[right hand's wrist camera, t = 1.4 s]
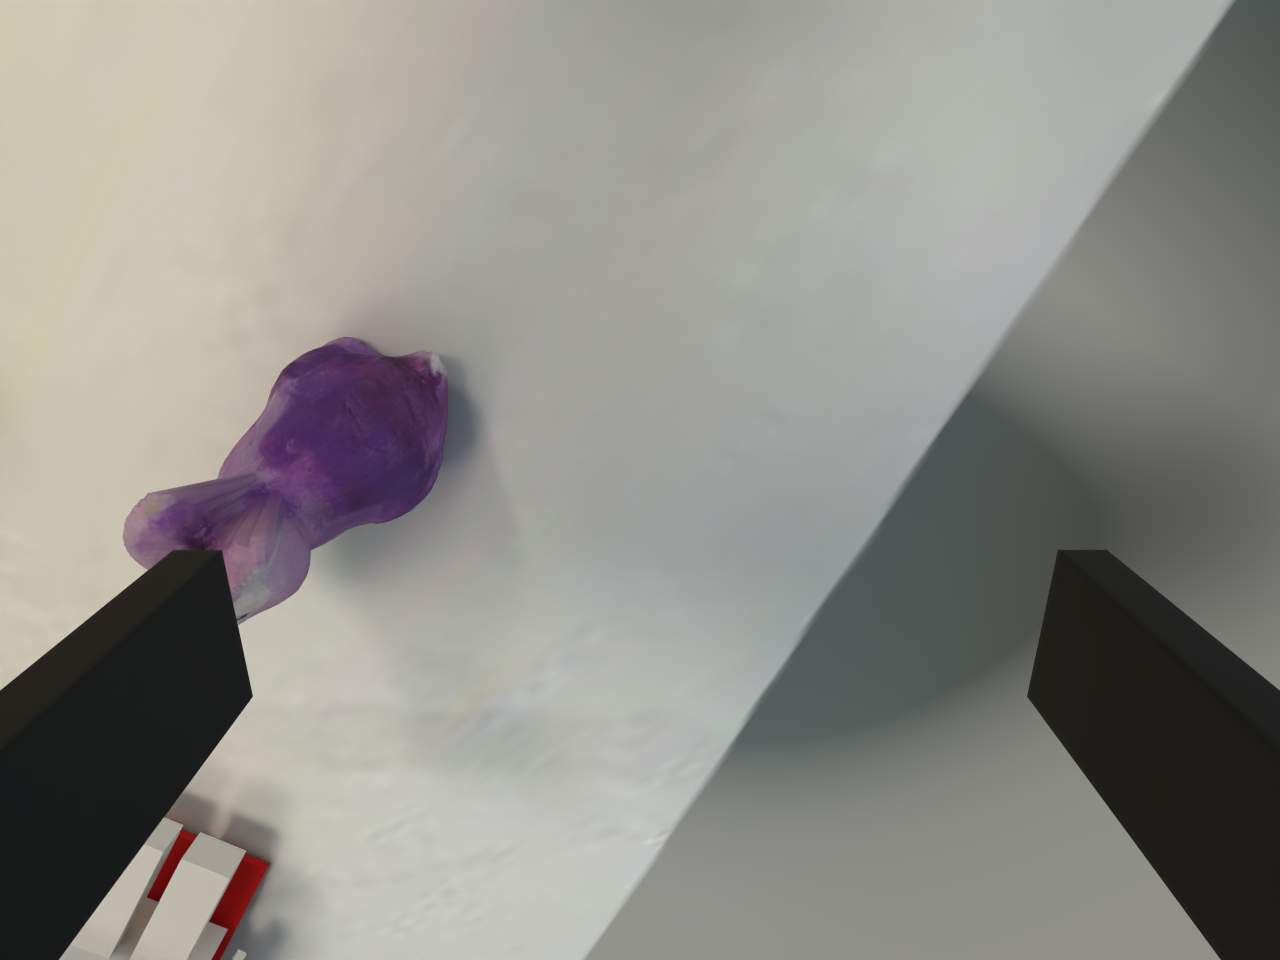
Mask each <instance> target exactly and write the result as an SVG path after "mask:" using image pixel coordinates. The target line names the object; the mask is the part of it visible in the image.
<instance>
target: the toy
mask: <svg viewBox="0 0 1280 960" xmlns="http://www.w3.org/2000/svg"><path fill="white" fill-rule="evenodd" d="M182 827H183V825H182V824H180V823H177V822H175V821H173V820H170V819H168V818H165V817H164V818H163V819H162V821H161V822H160V823H159V825H158V826H157V827H156V829H155V830H154V831H153V833H152V834H151V835H150V837H149V838H148V840H147V841H146V842H145V844H144V845H143V846H142V848H141V849H140V850H139V852H138V853H137V854H136V856H135V857H134V859H133V860H132V861H131V863H130V864H129V865H128V867H127V868H126V869H125V871H124V872H123V873H122V875H121V876H120V878H119V879H118V880H117V882H116V883H115V884H114V886H113V887H112V888H111V890H110V891H109V893H108V894H107V895H106V897H105V898H104V899H103V901H102V902H101V903H100V905H99V906H98V907H97V909H96V910H95V912H94V913H93V914H92V916H91V917H90V918H89V920H88V921H87V922H86V924H85V925H84V926H83V928H82V929H81V931H80V932H79V933H78V935H77V936H76V937H75V939H74V940H73V941H72V943H71V944H70V946H69V947H68V948H67V950H66V951H65V952H64V954H63V955H62V956H61V958H60V959H59V960H220V959H221V957H222V955H223V953H224V951H225V949H226V947H227V945H228V943H229V941H230V939H231V937H232V935H233V933H234V932H235V930H236V928H237V926H238V924H239V922H240V920H241V918H242V916H243V914H244V912H245V910H246V908H247V906H248V904H249V902H250V900H251V898H252V897H253V895H254V893H255V891H256V889H257V887H258V885H259V883H260V881H261V879H262V877H263V875H264V873H265V871H266V869H267V867H268V865H269V863H267V862H264V861H262V860H259V859H257V858H254V857H251V856H249V855H246V854H245V853H246V850H243V849H241V848H238V847H236V846H234V845H231V844H229V843H226V842H224V841H221V840H219V839H216V838H214V837H212V836H209V835H207V834H204V833H202V832H200V833H199V835H198V836H196V835H194V834H191V833H189V832H186V831H183V830H181V829H182ZM246 954H247V953H245V952H243V951H241V950H239V949H238V951H237V952H236V954H235V955H234V957H233V958H232V960H244V958H245V956H246Z"/></svg>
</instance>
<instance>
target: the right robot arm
mask: <svg viewBox="0 0 1280 960" xmlns="http://www.w3.org/2000/svg"><path fill="white" fill-rule="evenodd" d="M252 697H253V695H252V690H251V686H250V681H249V676H248V671H247V667H246V662H245V657H244V652H243V648H242V643H241V638H240V633H239V629H238V624H237V619H236V614H235V610H234V605H233V600H232V595H231V591H230V586H229V581H228V576H227V572H226V567H225V562H224V557H223V552H222V550H173V551H171V552H170V553H169V554H168V555H166V556H165V557H164V558H163V559H161V560H160V561H159V562H158V563H157V564H155V565H154V566H153V567H152V568H150V569H149V570H148V571H147V572H145V573H144V574H143V575H142V576H141V577H139V578H138V579H137V580H136V581H134V582H133V583H132V584H131V585H130V586H128V587H127V588H126V589H125V590H123V591H122V592H121V593H120V594H118V595H117V596H116V597H115V598H114V599H112V600H111V601H110V602H109V603H107V604H106V605H105V606H104V607H102V608H101V609H100V610H99V611H98V612H96V613H95V614H94V615H93V616H91V617H90V618H89V619H88V620H86V621H85V622H84V623H83V624H82V625H80V626H79V627H78V628H77V629H75V630H74V631H73V632H72V633H70V634H69V635H68V636H67V637H66V638H64V639H63V640H62V641H61V642H59V643H58V644H57V645H56V646H54V647H53V648H52V649H51V650H50V651H48V652H47V653H46V654H45V655H43V656H42V657H41V658H40V659H38V660H37V661H36V662H35V663H34V664H32V665H31V666H30V667H29V668H27V669H26V670H25V671H24V672H22V673H21V674H20V675H19V676H18V677H16V678H15V679H14V680H13V681H11V682H10V683H9V684H8V685H7V686H5V687H4V688H3V689H2V690H0V960H59V959H60V958H61V956H62V955H63V954H64V952H65V951H66V950H67V948H68V947H69V946H70V944H71V943H72V941H73V940H74V939H75V937H76V936H77V935H78V933H79V932H80V931H81V929H82V928H83V926H84V925H85V924H86V922H87V921H88V920H89V918H90V917H91V916H92V914H93V913H94V912H95V910H96V909H97V907H98V906H99V905H100V903H101V902H102V901H103V899H104V898H105V897H106V895H107V894H108V893H109V891H110V890H111V888H112V887H113V886H114V884H115V883H116V882H117V880H118V879H119V878H120V876H121V875H122V873H123V872H124V871H125V869H126V868H127V867H128V865H129V864H130V863H131V861H132V860H133V859H134V857H135V856H136V854H137V853H138V852H139V850H140V849H141V848H142V846H143V845H144V844H145V842H146V841H147V840H148V838H149V837H150V835H151V834H152V833H153V831H154V830H155V829H156V827H157V826H158V825H159V823H160V822H161V821H162V819H163V818H164V816H165V815H166V814H167V812H168V811H169V810H170V808H171V807H172V806H173V804H174V803H175V801H176V800H177V799H178V797H179V796H180V795H181V793H182V792H183V791H184V789H185V788H186V787H187V785H188V784H189V782H190V781H191V780H192V778H193V777H194V776H195V774H196V773H197V772H198V770H199V769H200V768H201V766H202V765H203V763H204V762H205V761H206V759H207V758H208V757H209V755H210V754H211V753H212V751H213V750H214V749H215V747H216V746H217V744H218V743H219V742H220V740H221V739H222V738H223V736H224V735H225V734H226V732H227V731H228V729H229V728H230V727H231V725H232V724H233V723H234V721H235V720H236V719H237V717H238V716H239V715H240V713H241V712H242V710H243V709H244V708H245V706H246V705H247V704H248V702H249V701H250V700H251V698H252ZM1027 697H1028V698H1029V700H1030V701H1031V702H1032V704H1033V705H1034V706H1035V708H1036V709H1037V710H1038V712H1039V713H1040V715H1041V716H1042V717H1043V719H1044V720H1045V721H1046V723H1047V724H1048V725H1049V727H1050V728H1051V729H1052V731H1053V732H1054V734H1055V735H1056V736H1057V738H1058V739H1059V740H1060V742H1061V743H1062V744H1063V746H1064V747H1065V748H1066V750H1067V751H1068V753H1069V754H1070V755H1071V757H1072V758H1073V759H1074V761H1075V762H1076V763H1077V765H1078V766H1079V768H1080V769H1081V770H1082V772H1083V773H1084V774H1085V776H1086V777H1087V778H1088V780H1089V781H1090V782H1091V784H1092V785H1093V786H1094V788H1095V789H1096V791H1097V792H1098V793H1099V795H1100V796H1101V797H1102V799H1103V800H1104V801H1105V803H1106V804H1107V806H1108V807H1109V808H1110V810H1111V811H1112V812H1113V814H1114V815H1115V816H1116V818H1117V819H1118V821H1119V822H1120V823H1121V825H1122V826H1123V827H1124V829H1125V830H1126V831H1127V833H1128V834H1129V835H1130V837H1131V838H1132V839H1133V841H1134V842H1135V844H1136V845H1137V846H1138V848H1139V849H1140V850H1141V852H1142V853H1143V854H1144V856H1145V857H1146V859H1147V860H1148V861H1149V863H1150V864H1151V865H1152V867H1153V868H1154V869H1155V871H1156V872H1157V874H1158V875H1159V876H1160V878H1161V879H1162V880H1163V882H1164V883H1165V884H1166V886H1167V887H1168V888H1169V890H1170V891H1171V893H1172V894H1173V895H1174V897H1175V898H1176V899H1177V901H1178V902H1179V903H1180V905H1181V906H1182V907H1183V909H1184V910H1185V912H1186V913H1187V914H1188V916H1189V917H1190V918H1191V920H1192V921H1193V922H1194V924H1195V925H1196V926H1197V928H1198V929H1199V930H1200V932H1201V933H1202V934H1203V936H1204V937H1205V939H1206V940H1207V941H1208V943H1209V944H1210V945H1211V947H1212V948H1213V950H1214V951H1215V952H1216V954H1217V955H1218V956H1219V958H1220V959H1221V960H1280V690H1278V689H1277V688H1276V687H1275V686H1273V685H1272V684H1271V683H1270V682H1269V681H1267V680H1266V679H1265V678H1264V677H1262V676H1261V675H1260V674H1259V673H1257V672H1256V671H1255V670H1254V669H1253V668H1251V667H1250V666H1249V665H1248V664H1246V663H1245V662H1244V661H1243V660H1242V659H1240V658H1239V657H1238V656H1237V655H1235V654H1234V653H1233V652H1232V651H1230V650H1229V649H1228V648H1227V647H1225V646H1224V645H1223V644H1222V643H1221V642H1219V641H1218V640H1217V639H1216V638H1214V637H1213V636H1212V635H1211V634H1210V633H1208V632H1207V631H1206V630H1205V629H1203V628H1202V627H1201V626H1200V625H1198V624H1197V623H1196V622H1195V621H1193V620H1192V619H1191V618H1190V617H1189V616H1187V615H1186V614H1185V613H1184V612H1182V611H1181V610H1180V609H1179V608H1178V607H1176V606H1175V605H1174V604H1173V603H1171V602H1170V601H1169V600H1168V599H1166V598H1165V597H1164V596H1163V595H1162V594H1160V593H1159V592H1158V591H1157V590H1155V589H1154V588H1153V587H1152V586H1150V585H1149V584H1148V583H1147V582H1146V581H1144V580H1143V579H1142V578H1141V577H1139V576H1138V575H1137V574H1136V573H1134V572H1133V571H1132V570H1131V569H1130V568H1128V567H1127V566H1126V565H1125V564H1123V563H1122V562H1121V561H1120V560H1118V559H1117V558H1116V557H1115V556H1114V555H1112V554H1111V553H1110V552H1109V551H1107V550H1058V552H1057V557H1056V562H1055V567H1054V572H1053V576H1052V581H1051V586H1050V591H1049V595H1048V600H1047V605H1046V610H1045V614H1044V619H1043V624H1042V629H1041V633H1040V638H1039V643H1038V648H1037V652H1036V657H1035V662H1034V667H1033V672H1032V676H1031V681H1030V686H1029V690H1028V695H1027Z"/></svg>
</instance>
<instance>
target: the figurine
mask: <svg viewBox="0 0 1280 960" xmlns="http://www.w3.org/2000/svg"><path fill="white" fill-rule="evenodd" d="M447 412H448V380H447V373H446V369H445V366H444V363H443V362H442V360H441V358H440V357H439V356H438V355H437V354H435V353H433V352H431V351H426V350H423V351H419V352H416V353H413V354H409V355H405V356H398V357H384V356H383V355H380V354H378V353H376V352H375V351H373V350H372V349H370V348H369V347H368V346H367V345H366V344H365V343H363V342H362V341H360V340H358V339H355V338H350V337H343V338H340V339H336V340H334V341H331V342H329V343H327V344H326V345H324V346H322V347H320V348H317V349H314V350H312V351H309V352H307V353H305V354H303V355H302V356H300V357H299V358H297V359H296V360H294V361H293V362H292V363H290V364H289V365H288V366H287V367H286V368H285V369H284V370H283V371H282V372H281V374H280V375H279V377H278V379H277V381H276V383H275V384H274V386H273V388H272V390H271V393H270V396H269V399H268V403H267V406H266V408H265V409H264V411H263V413H262V414H261V416H260V417H259V419H258V420H257V421H256V422H255V423H254V424H253V426H252V427H251V428H250V429H249V430H248V431H247V432H246V433H245V435H244V436H243V437H242V438H241V439H240V440H239V442H238V443H237V444H236V445H235V447H234V448H233V449H232V451H231V452H230V454H229V455H228V457H227V458H226V460H225V461H224V463H223V465H222V467H221V469H220V472H219V476H218V479H216V480H211V481H206V482H201V483H196V484H192V485H187V486H182V487H177V488H172V489H167V490H162V491H157V492H152V493H148V494H147V495H146V496H145V498H144V499H141V500H140V501H139V503H138V504H137V505H135V506H134V508H133V509H132V511H131V512H130V514H129V515H128V517H127V518H126V519H125V525H124V532H123V539H124V545H125V547H126V549H127V552H128V553H129V554H130V556H131V557H132V558H133V559H134V560H135V561H136V562H138V563H139V564H140V565H141V566H143V567H144V568H145V569H147V570H149V569H150V568H152V567H153V566H154V565H155V564H157V563H158V562H159V561H160V560H161V559H163V558H164V557H165V556H166V555H168V554H169V553H170V552H171V551H173V550H222V552H223V557H224V562H225V567H226V572H227V576H228V581H229V586H230V591H231V595H232V600H233V605H234V610H235V614H236V619H237V624H238V625H239V624H240V623H242V622H244V621H245V620H247V619H249V618H251V617H253V616H254V615H256V614H258V613H260V612H262V611H264V610H267V609H269V608H271V607H274V606H276V605H278V604H279V603H281V602H282V601H284V600H285V599H287V598H288V597H290V596H291V595H293V594H294V593H295V592H296V591H297V590H298V589H299V588H300V586H301V585H302V583H303V581H304V580H305V578H306V576H307V574H308V570H309V566H310V550H312V549H314V548H317V547H319V546H321V545H323V544H325V543H327V542H329V541H330V540H332V539H334V538H335V537H337V536H338V535H339V534H341V533H343V532H344V531H346V530H348V529H350V528H353V527H356V526H359V525H363V524H368V523H376V524H378V523H384V522H388V521H391V520H393V519H396V518H398V517H400V516H402V515H404V514H406V513H408V512H409V511H411V510H412V509H413V508H414V507H415V506H416V505H418V504H419V503H420V502H421V501H422V500H423V499H424V498H425V497H426V496H427V494H428V493H429V492H430V491H431V489H432V488H433V485H434V483H435V481H436V478H437V475H438V471H439V469H440V466H441V463H442V449H443V445H444V440H445V432H446V426H447Z"/></svg>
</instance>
